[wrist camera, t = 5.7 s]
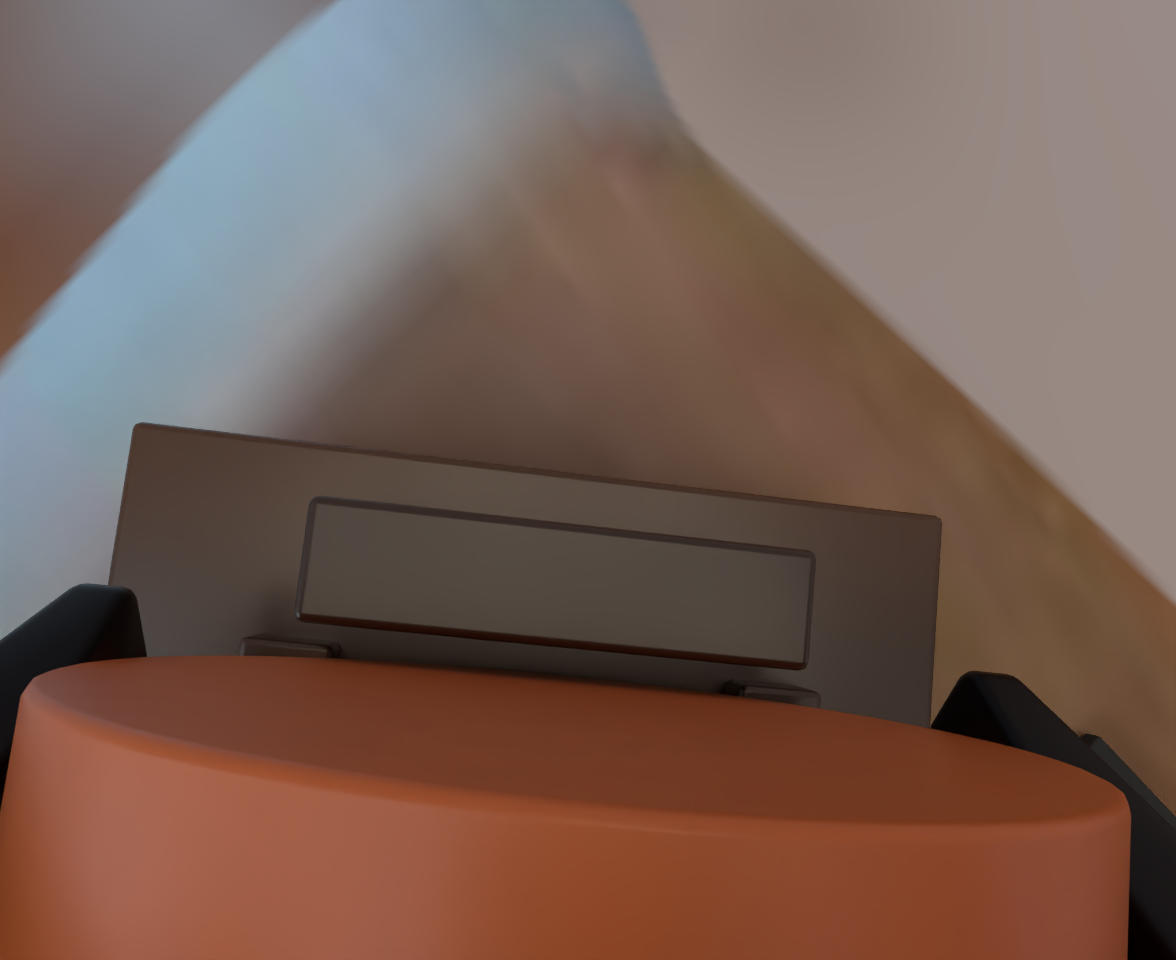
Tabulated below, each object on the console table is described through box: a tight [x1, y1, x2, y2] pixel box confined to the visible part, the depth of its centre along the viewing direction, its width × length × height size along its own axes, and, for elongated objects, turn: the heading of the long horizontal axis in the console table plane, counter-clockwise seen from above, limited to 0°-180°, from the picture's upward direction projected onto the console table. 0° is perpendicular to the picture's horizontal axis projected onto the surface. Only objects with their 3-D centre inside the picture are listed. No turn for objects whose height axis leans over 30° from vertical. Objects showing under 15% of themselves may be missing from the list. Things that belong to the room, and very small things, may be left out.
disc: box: [0, 656, 1131, 960], centre depth 7 cm, size 2×7×7 cm, turn 84°
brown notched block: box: [108, 422, 942, 728], centre depth 13 cm, size 7×10×7 cm
